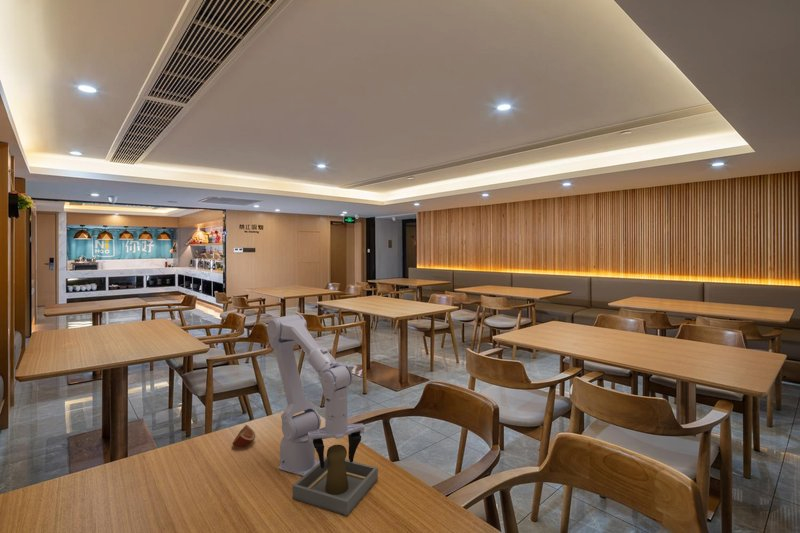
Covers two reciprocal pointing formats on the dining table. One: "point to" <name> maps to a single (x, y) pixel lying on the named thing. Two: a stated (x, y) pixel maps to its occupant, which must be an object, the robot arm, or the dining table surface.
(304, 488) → the walled box
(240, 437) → the fruit slice
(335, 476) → the cork
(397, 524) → the dining table surface
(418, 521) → the dining table surface
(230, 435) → the dining table surface
